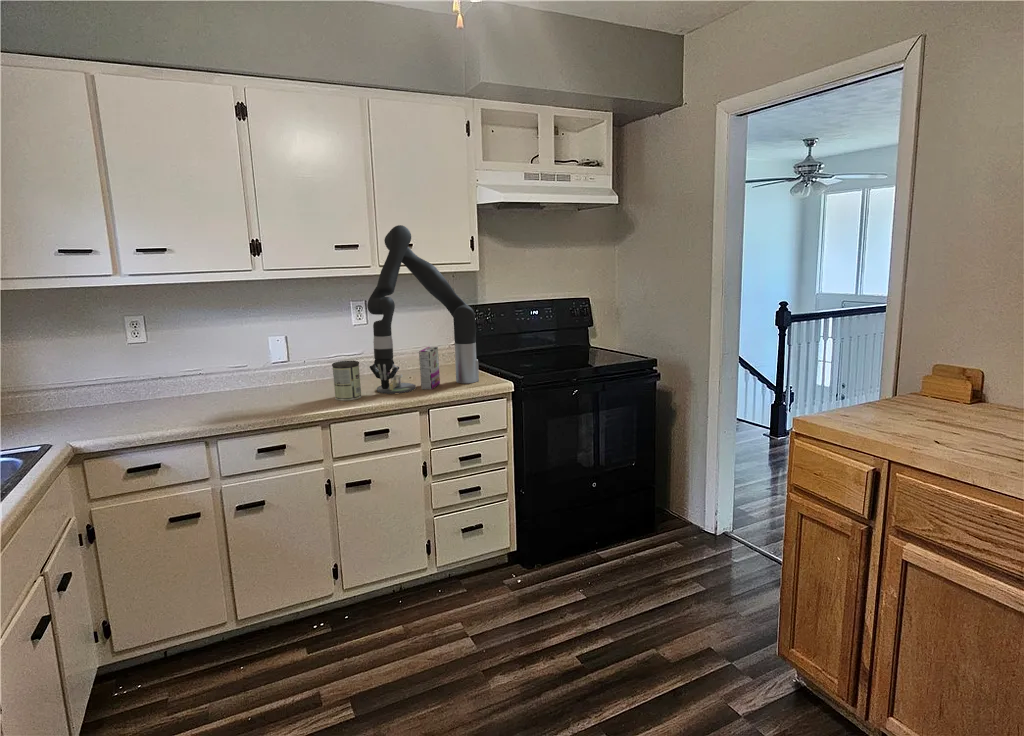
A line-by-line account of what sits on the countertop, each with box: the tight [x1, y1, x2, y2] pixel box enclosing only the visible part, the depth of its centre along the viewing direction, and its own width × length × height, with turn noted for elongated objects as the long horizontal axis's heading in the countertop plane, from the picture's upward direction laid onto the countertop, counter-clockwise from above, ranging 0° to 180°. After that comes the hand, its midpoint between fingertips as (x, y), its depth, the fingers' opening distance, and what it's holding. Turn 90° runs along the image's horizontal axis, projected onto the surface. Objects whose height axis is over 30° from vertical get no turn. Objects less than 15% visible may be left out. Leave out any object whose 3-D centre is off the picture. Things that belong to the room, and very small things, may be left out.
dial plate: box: [376, 382, 416, 395], centre depth 247 cm, size 16×16×1 cm
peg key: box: [389, 373, 403, 390], centre depth 242 cm, size 12×5×5 cm, turn 0°
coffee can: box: [331, 360, 362, 402], centre depth 234 cm, size 10×10×14 cm
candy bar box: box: [418, 346, 441, 391], centre depth 249 cm, size 11×5×16 cm, turn 168°
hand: (385, 388), depth 240 cm, fingers closed
